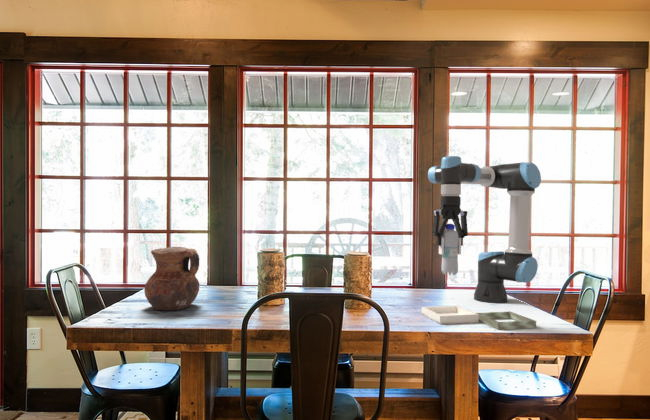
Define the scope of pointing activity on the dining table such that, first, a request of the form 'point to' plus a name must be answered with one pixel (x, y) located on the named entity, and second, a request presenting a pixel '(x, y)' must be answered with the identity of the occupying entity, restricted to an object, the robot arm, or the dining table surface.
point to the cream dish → (450, 314)
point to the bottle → (450, 250)
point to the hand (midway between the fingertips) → (449, 254)
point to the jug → (173, 278)
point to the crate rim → (517, 324)
